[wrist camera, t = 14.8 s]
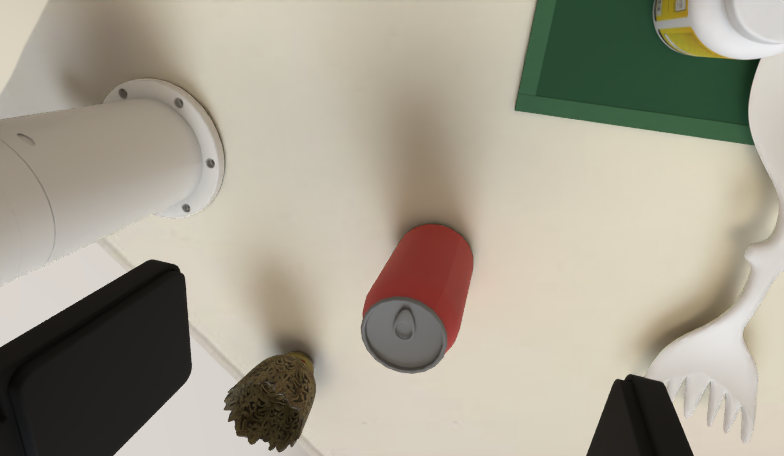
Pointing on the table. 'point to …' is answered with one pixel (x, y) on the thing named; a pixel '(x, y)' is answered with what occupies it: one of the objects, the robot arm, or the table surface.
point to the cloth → (629, 73)
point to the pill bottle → (721, 27)
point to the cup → (273, 400)
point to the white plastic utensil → (768, 259)
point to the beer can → (418, 300)
